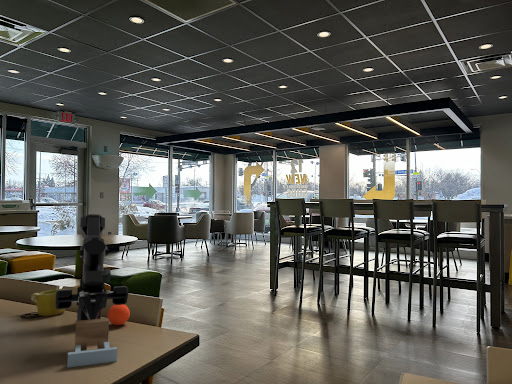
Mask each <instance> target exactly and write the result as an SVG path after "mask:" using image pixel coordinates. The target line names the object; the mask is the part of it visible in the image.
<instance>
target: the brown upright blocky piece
mask: <svg viewBox="0 0 512 384" xmlns="http://www.w3.org/2000/svg"><path fill="white" fill-rule="evenodd" d="M109 327H110V321H109V319H108V317H107V318H105V317H104V318H101V319H92V320H80V321H76V320H75V333H74V334H75V336H74V346H75V345H81V351H86V350H95V349H104V342H109V331H110V329H109Z"/></svg>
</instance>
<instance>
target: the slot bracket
mask: <svg viewBox="0 0 512 384" xmlns="http://www.w3.org/2000/svg"><path fill="white" fill-rule="evenodd" d="M110 345H111V344H110V341H108V342H104V349H95V350H86V351H81V345H75V344H74V351H70V352H67V365H66V366H67V368H75V367H83V366H89V365H90V366H91V365H98V364H107V363H113V362H114V363H115V362H117V361H118V347H117V346H113V347H111V346H110Z"/></svg>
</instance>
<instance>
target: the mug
mask: <svg viewBox="0 0 512 384" xmlns="http://www.w3.org/2000/svg"><path fill="white" fill-rule="evenodd" d="M58 290H64V289H63V288H61V289H60V288H59V289H58V288H57V289H50V290H45V291H41V292H40V293H39V292H35V293H33V294H31V295H30V300H31V301H32V303H33V304H34V305H35V307H36V309H37V314H38V315H39V316H40V317H41V316H42V317H54V316H58V315H60V314H63V313H64V312H65V311H66V309H56V292H57V291H58Z"/></svg>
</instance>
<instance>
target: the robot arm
mask: <svg viewBox="0 0 512 384" xmlns="http://www.w3.org/2000/svg"><path fill="white" fill-rule="evenodd" d="M79 223H80V226H79V227H80V229H79V230H81V237H82V238H83V240H82V241H83V242H82V245H80V253H79V254H80V255H79V258H82V260H81V261H83V264H82V276H81V277H80V280H79V286H77V290H76V291H77V293H74V294H73V289H72V288H70V289H69V288H66V289H64V290H58V291H57V292H56V309H65V310H66V309H70V308H71V307H72V303H76V306H77V307H78V308H77V310H76V311H77V313H76V320H75V322H76V321H80V320H92V319H102V318H101V317H102V310H103V309H106V308H107V302H108V300H111V301H112V304H113V305H123V304H125V305H127V303H128V298H129V288H128V287H127V285H121V286H113V289H112V290H113V291H107V288H106V286H105V284H106V283H105V282H111V278H112V276H111V275H112V274H111V273H112V271H111V268H104V262H105V259H106V258H107V256H108V254H109V255H110V249H109V248H108V246H107V245H106V244H105V239H104V238H102V237H103V231H104V230H105V229H106V217H103V216H102V214H99V213H98V214H96V213H95V214H94V213H93V214H90V213H89V214H86V215H85V216H82V217H80V222H79ZM105 257H106V258H105Z"/></svg>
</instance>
